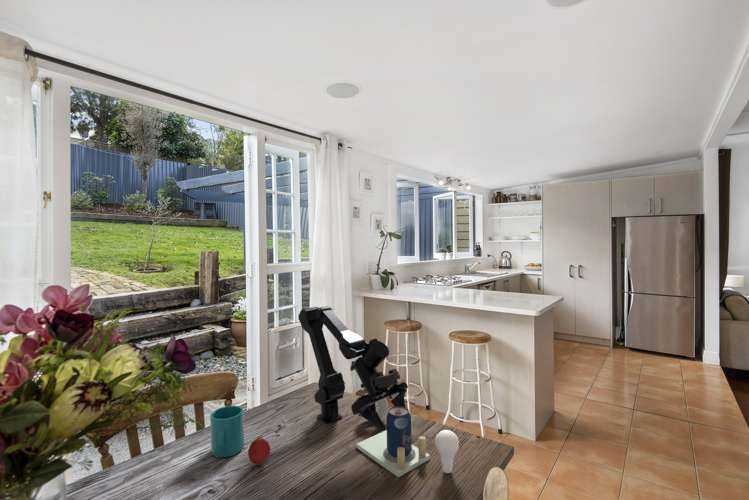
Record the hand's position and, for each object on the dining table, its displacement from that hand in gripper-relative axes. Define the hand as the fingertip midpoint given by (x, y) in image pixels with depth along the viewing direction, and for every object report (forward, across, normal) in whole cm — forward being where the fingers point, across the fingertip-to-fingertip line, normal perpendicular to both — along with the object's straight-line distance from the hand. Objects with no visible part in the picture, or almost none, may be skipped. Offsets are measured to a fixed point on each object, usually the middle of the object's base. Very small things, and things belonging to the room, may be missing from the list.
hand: (395, 424), depth 105 cm
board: (+5, 0, +8) cm, 9 cm away
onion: (-10, -30, +23) cm, 39 cm away
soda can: (+6, 0, +5) cm, 8 cm away
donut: (-7, +9, +20) cm, 23 cm away
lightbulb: (+17, +4, -4) cm, 18 cm away
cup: (-18, -34, +32) cm, 50 cm away
